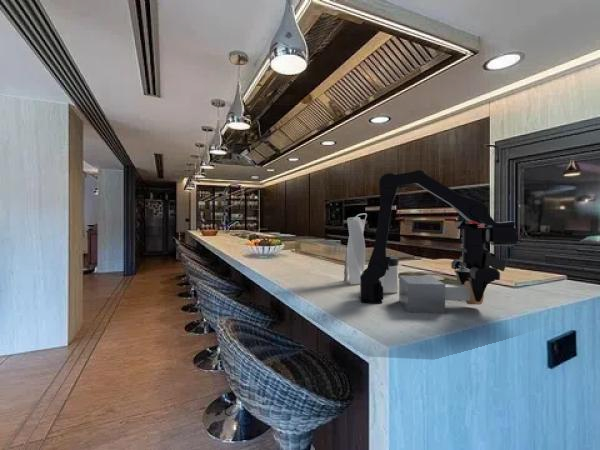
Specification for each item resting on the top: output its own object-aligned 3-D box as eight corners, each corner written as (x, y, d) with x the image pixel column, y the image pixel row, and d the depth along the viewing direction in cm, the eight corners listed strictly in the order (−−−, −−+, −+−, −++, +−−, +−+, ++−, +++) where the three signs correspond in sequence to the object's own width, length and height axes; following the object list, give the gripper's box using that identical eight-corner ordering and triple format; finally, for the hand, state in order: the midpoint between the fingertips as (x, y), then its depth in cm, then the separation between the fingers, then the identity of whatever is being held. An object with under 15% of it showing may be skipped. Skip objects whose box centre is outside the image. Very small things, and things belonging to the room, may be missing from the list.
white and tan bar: (431, 305, 91) (431, 282, 91) (425, 299, 98) (425, 278, 98) (483, 307, 90) (483, 284, 89) (473, 301, 96) (473, 279, 96)
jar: (403, 291, 114) (404, 257, 113) (390, 294, 108) (390, 259, 108) (382, 286, 120) (383, 255, 120) (368, 290, 115) (369, 256, 115)
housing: (407, 312, 89) (407, 283, 89) (399, 300, 101) (399, 275, 101) (444, 313, 88) (445, 284, 88) (431, 301, 100) (432, 276, 100)
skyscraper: (363, 281, 132) (364, 213, 131) (368, 285, 124) (369, 213, 123) (343, 281, 131) (343, 213, 130) (347, 285, 123) (347, 213, 122)
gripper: (522, 248, 82) (521, 308, 83) (487, 242, 101) (487, 291, 101) (476, 248, 84) (475, 307, 84) (450, 242, 102) (450, 290, 103)
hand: (472, 298), depth 93 cm, fingers closed on white and tan bar, 7 cm apart
